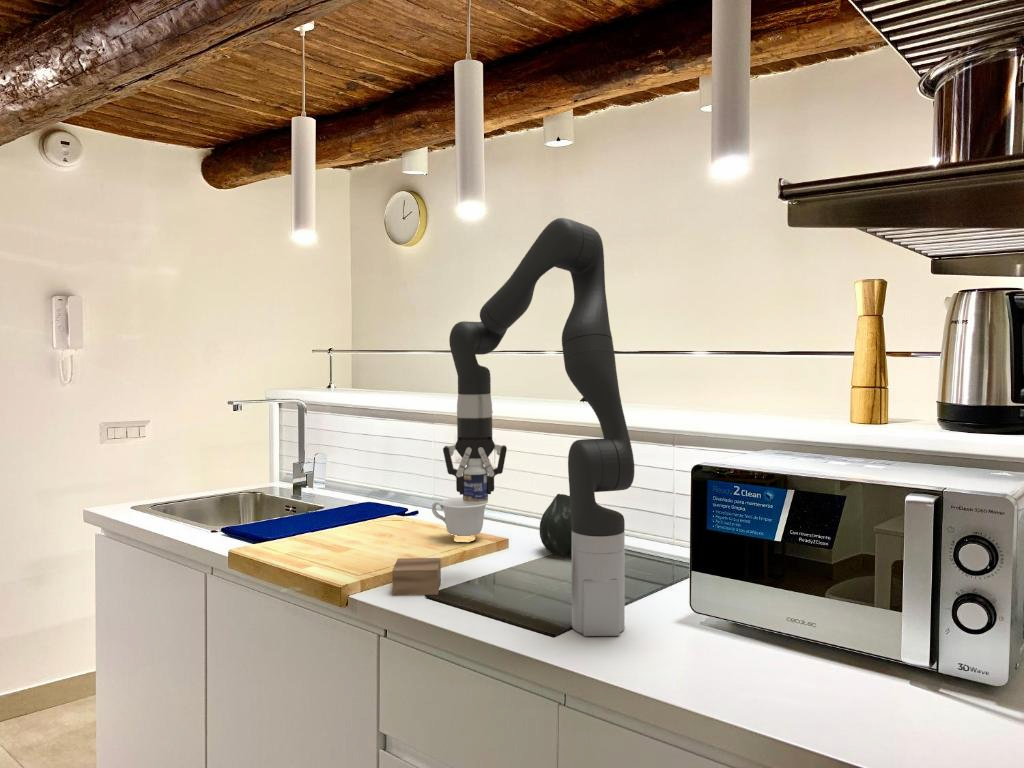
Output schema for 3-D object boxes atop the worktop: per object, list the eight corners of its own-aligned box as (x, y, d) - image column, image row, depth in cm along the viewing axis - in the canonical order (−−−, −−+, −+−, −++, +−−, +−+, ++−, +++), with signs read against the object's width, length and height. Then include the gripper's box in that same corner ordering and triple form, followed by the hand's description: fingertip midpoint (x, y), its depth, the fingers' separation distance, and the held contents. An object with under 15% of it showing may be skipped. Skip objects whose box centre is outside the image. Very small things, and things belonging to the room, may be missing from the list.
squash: (622, 530, 187) (586, 479, 192) (587, 545, 175) (549, 491, 181) (586, 561, 194) (552, 512, 200) (550, 578, 183) (515, 524, 188)
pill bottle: (459, 504, 166) (459, 459, 166) (467, 500, 171) (466, 455, 171) (484, 505, 165) (483, 459, 165) (490, 501, 170) (490, 456, 170)
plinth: (437, 594, 156) (437, 570, 156) (392, 595, 156) (392, 570, 156) (440, 581, 165) (440, 557, 165) (398, 581, 165) (397, 558, 165)
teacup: (441, 532, 209) (441, 495, 208) (494, 536, 204) (494, 498, 204) (422, 543, 197) (422, 504, 197) (478, 548, 193) (478, 507, 192)
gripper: (439, 417, 163) (440, 497, 164) (508, 416, 164) (509, 496, 164) (442, 414, 171) (443, 491, 172) (507, 413, 171) (508, 490, 172)
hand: (475, 493), depth 168 cm, fingers closed on pill bottle, 5 cm apart
